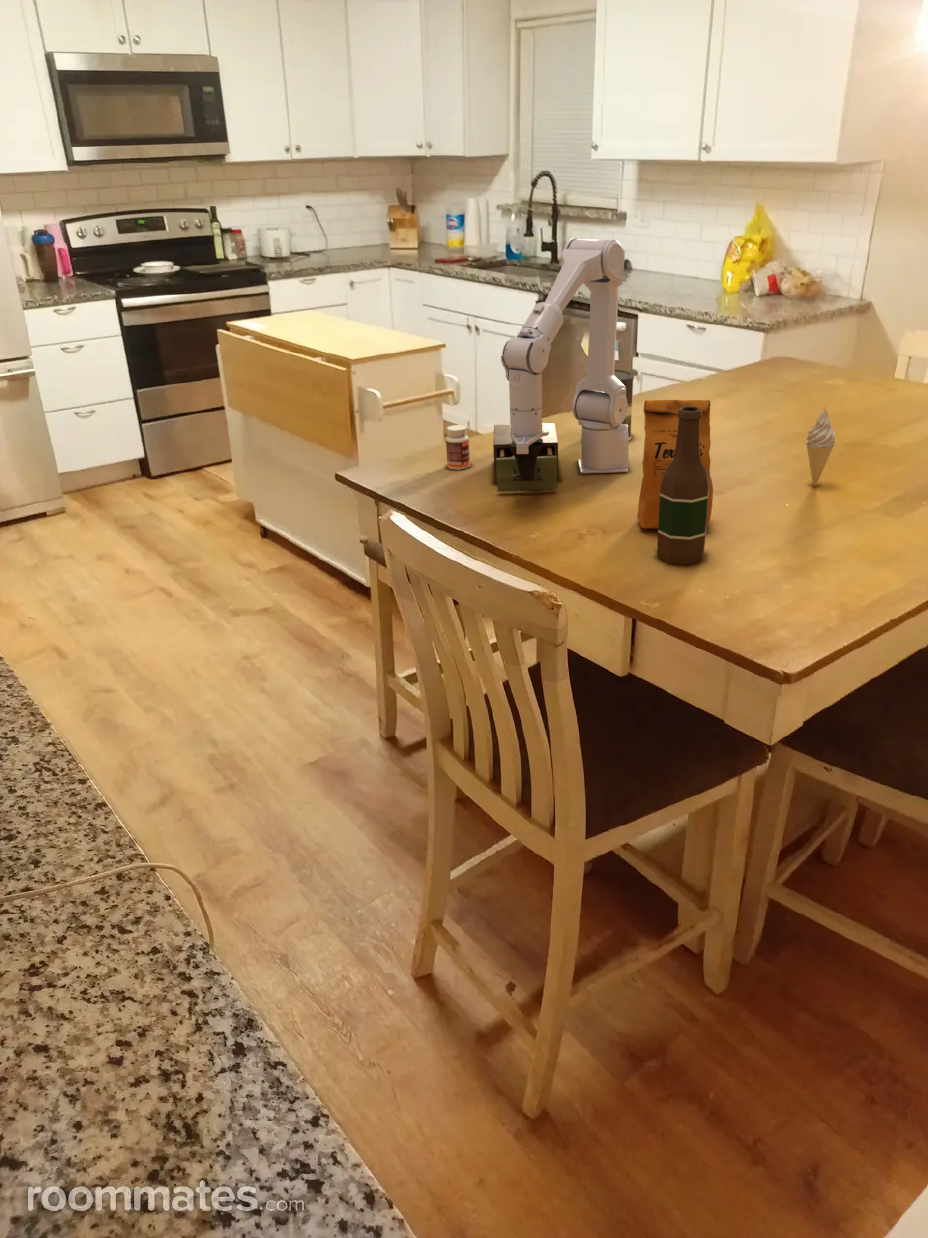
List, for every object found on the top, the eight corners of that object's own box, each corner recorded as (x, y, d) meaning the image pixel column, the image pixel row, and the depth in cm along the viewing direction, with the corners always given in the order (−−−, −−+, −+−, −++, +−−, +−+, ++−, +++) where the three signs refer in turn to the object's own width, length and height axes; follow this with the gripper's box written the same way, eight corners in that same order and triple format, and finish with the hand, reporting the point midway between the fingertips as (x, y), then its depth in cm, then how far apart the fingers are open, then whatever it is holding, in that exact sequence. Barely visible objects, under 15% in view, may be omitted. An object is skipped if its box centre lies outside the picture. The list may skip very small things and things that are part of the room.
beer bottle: (650, 548, 151) (657, 403, 140) (696, 544, 151) (707, 400, 140) (663, 567, 144) (671, 417, 133) (711, 563, 144) (724, 413, 133)
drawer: (558, 497, 171) (558, 465, 168) (497, 499, 172) (496, 467, 169) (553, 467, 186) (553, 437, 183) (497, 469, 187) (496, 439, 184)
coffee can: (626, 446, 199) (628, 381, 193) (580, 443, 203) (580, 379, 196) (636, 432, 208) (638, 369, 201) (592, 429, 211) (593, 368, 205)
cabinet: (558, 481, 181) (558, 442, 178) (494, 484, 182) (493, 444, 178) (554, 460, 193) (554, 422, 190) (495, 462, 194) (493, 424, 190)
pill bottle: (467, 470, 191) (465, 430, 187) (445, 469, 191) (442, 430, 188) (471, 462, 195) (470, 424, 191) (450, 462, 196) (447, 424, 192)
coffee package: (709, 538, 153) (719, 407, 143) (634, 534, 156) (639, 406, 146) (711, 516, 162) (721, 391, 151) (639, 512, 165) (644, 390, 154)
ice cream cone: (828, 481, 174) (839, 403, 167) (828, 490, 169) (840, 410, 162) (800, 480, 175) (810, 402, 168) (800, 489, 171) (810, 409, 164)
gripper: (544, 418, 156) (545, 493, 162) (551, 396, 168) (552, 467, 175) (503, 418, 157) (506, 493, 163) (513, 396, 169) (515, 466, 176)
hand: (527, 479), depth 169 cm, fingers closed
